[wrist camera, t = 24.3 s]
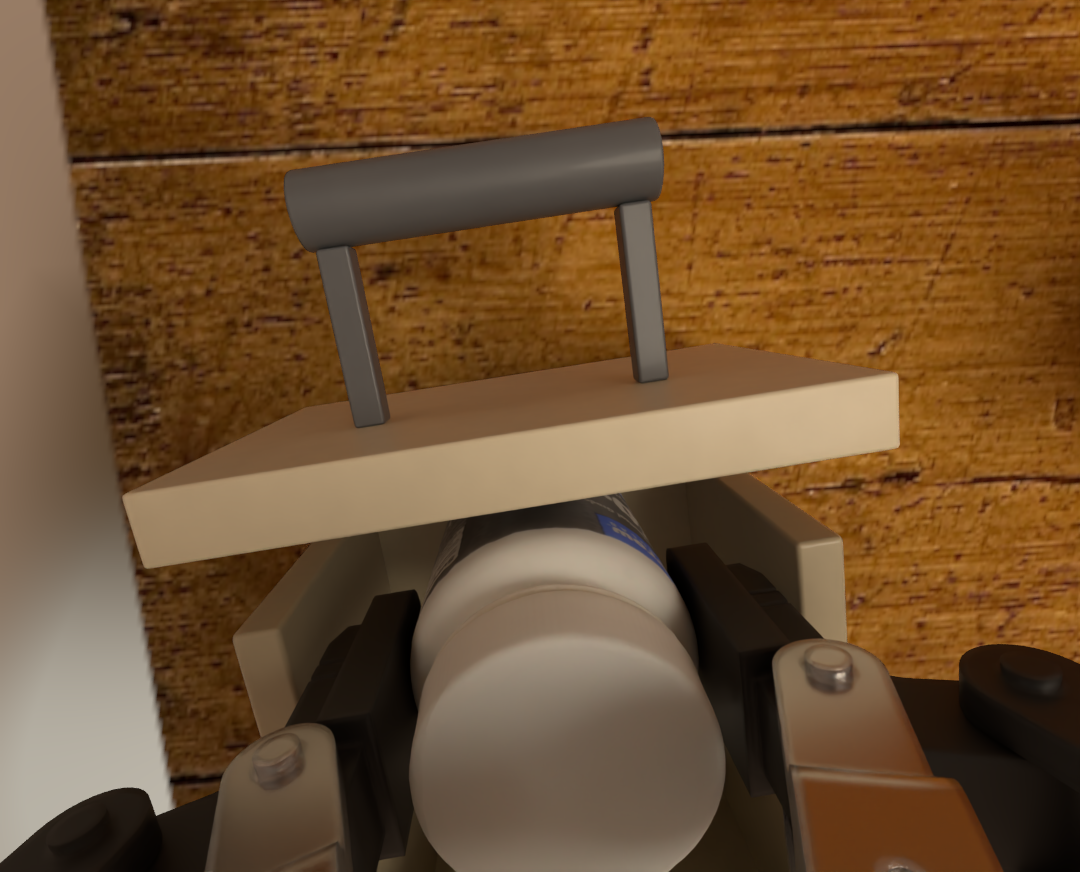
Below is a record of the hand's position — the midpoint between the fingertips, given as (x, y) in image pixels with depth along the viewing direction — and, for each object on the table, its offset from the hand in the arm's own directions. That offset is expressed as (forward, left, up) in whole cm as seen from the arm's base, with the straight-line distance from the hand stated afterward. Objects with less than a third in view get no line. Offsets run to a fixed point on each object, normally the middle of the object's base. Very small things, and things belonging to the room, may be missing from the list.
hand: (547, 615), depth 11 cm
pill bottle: (0, 0, -5) cm, 5 cm away
